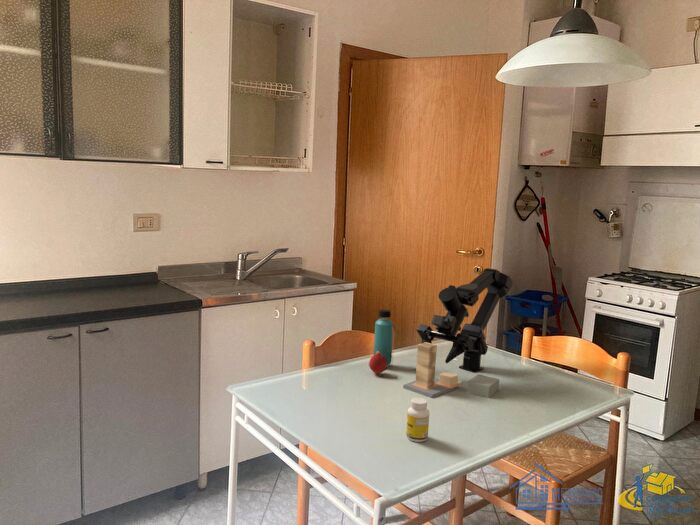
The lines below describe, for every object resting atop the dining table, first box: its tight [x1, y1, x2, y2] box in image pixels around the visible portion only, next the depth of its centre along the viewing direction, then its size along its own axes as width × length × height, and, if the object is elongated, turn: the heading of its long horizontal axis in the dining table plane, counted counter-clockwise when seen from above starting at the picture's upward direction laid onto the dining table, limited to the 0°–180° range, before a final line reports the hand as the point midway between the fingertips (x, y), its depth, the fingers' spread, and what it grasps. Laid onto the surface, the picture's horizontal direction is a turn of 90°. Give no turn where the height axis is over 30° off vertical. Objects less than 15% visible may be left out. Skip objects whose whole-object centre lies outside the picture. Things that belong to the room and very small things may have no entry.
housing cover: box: [466, 373, 500, 398], centre depth 183 cm, size 9×7×4 cm
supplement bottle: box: [405, 397, 430, 443], centre depth 146 cm, size 5×5×10 cm
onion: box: [368, 351, 388, 376], centre depth 193 cm, size 6×6×8 cm
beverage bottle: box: [373, 309, 394, 366], centre depth 202 cm, size 6×7×20 cm
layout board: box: [402, 371, 462, 399], centre depth 184 cm, size 15×12×4 cm
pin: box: [415, 342, 438, 388], centre depth 182 cm, size 4×4×13 cm
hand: (433, 359), depth 185 cm, fingers open, 9 cm apart
